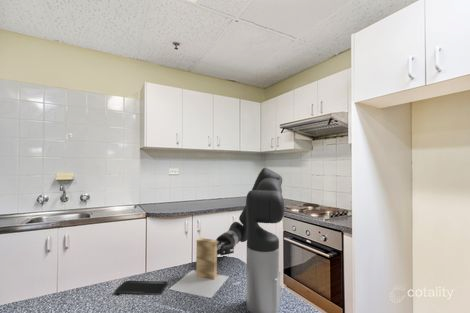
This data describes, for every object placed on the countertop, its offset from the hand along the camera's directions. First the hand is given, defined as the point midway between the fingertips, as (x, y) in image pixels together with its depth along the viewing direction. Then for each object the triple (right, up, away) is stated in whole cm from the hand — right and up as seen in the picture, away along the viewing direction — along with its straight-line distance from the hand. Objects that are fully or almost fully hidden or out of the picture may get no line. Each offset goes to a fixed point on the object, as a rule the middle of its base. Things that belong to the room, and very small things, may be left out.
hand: (210, 255), depth 90 cm
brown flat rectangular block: (-1, -6, -3) cm, 7 cm away
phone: (-21, -7, -11) cm, 25 cm away
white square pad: (-2, -7, -7) cm, 10 cm away
